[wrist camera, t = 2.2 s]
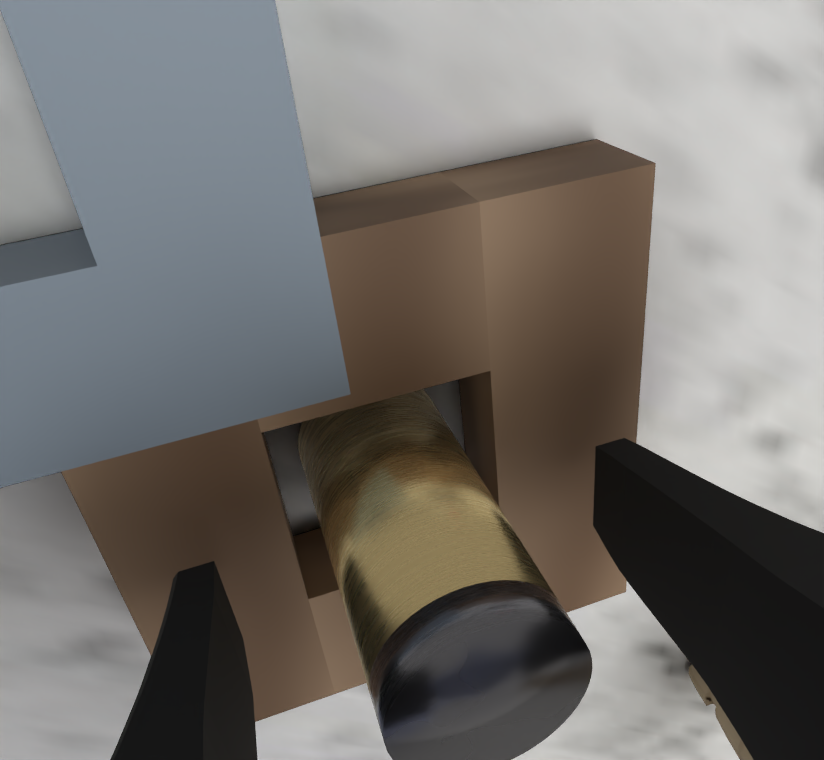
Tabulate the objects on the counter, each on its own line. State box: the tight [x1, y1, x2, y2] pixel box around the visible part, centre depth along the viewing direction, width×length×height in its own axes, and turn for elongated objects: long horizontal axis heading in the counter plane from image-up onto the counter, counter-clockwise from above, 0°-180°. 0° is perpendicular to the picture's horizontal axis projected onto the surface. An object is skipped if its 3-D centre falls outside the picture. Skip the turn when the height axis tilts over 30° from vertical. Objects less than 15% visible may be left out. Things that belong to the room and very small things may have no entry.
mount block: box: [61, 139, 655, 722], centre depth 15 cm, size 11×11×2 cm
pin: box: [298, 389, 592, 760], centre depth 13 cm, size 3×3×7 cm
